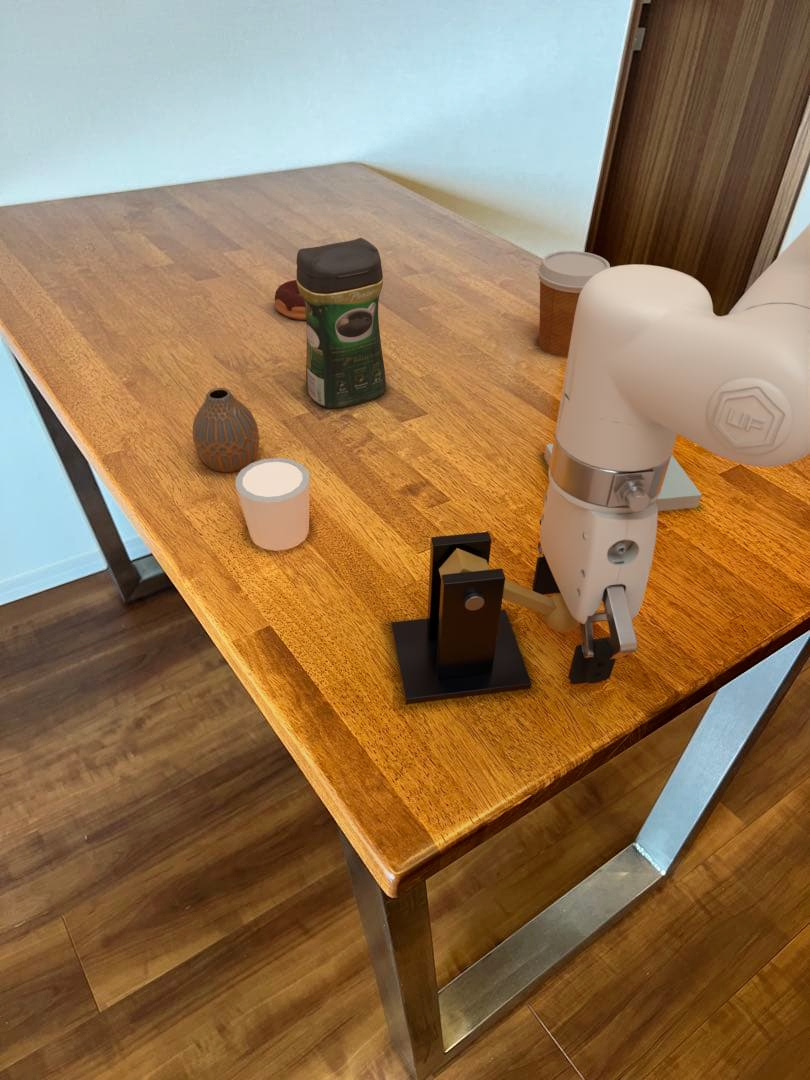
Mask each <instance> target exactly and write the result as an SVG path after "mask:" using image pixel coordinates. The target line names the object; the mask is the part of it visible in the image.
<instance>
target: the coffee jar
mask: <svg viewBox="0 0 810 1080" xmlns="http://www.w3.org/2000/svg"><path fill="white" fill-rule="evenodd" d="M295 262H296V279H295V280H296V282H297V286H298V289H299V292H300V294H301V296H302V298H303V300H304V303H305V310H306V320H305V321H306V324H305V325H306V357H305V358H306V360H305V361H306V362H305V380H306V383H305V384H306V390H307V393H308V395H309V397H310V399H312V401H313V402H314V403H315V404H317V405H318V406H320V407H322V408H325V409H328V410H340V409H346V408H351V407H356V406H359V405H362V404H366V403H369V402H372V401H374V400H377V399H379V398H381V397H382V396H383V395H384V394H385V392H386V390H387V381H386V371H385V363H384V356H383V349H382V341H381V332H380V321H379V300H380V296H381V292H382V288H383V284H384V274H383V267H382V260H381V255H380V252H379V250H378V248H377V247H376V246H375V245H373V243H371V242H370V241H368V240H367V239H365V238H363V237H358V238H356V239H355V238H354V239H352V240H347V241H341V242H334V243H330V244H325V245H320V246H314V247H305V248H300V249H298V251H297V254H296V261H295Z"/></svg>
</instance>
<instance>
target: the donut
mask: <svg viewBox="0 0 810 1080" xmlns="http://www.w3.org/2000/svg"><path fill="white" fill-rule="evenodd" d="M274 301H275V304H274V305H275V310H276V311H277V312H279V313H280V314H282V315H283V316H285V317H286V318H287V317H288V318H290V319H292V320H297V321H306V310H305V303H304V300H303V298H302V296H301V294H300V292H299V289H298V286H297V282H296V279H293V280H288V281H286V282H284V283H282V284H279V285H278V287H277V289H275V293H274Z"/></svg>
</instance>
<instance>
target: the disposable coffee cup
mask: <svg viewBox="0 0 810 1080" xmlns="http://www.w3.org/2000/svg"><path fill="white" fill-rule="evenodd" d="M608 268H611V265H610V263H609V261H608V260H607V259H605V258H604V257H602V256H600V255H597V254H595V253H591V252H587V251H580V250H559V251H554V252H551V253H548V254H547V255H545V256H544V257H543V258H542V261H541V263H540V265H539V266H538V267H537V275H538V280H539V332H538V333H539V336H538V338H539V339H538V343H539V344H538V345H539V347H540V349H541V350H542V351H544V352H545V353H547V354H549V355H552V356H557V357H567V358H568V353H569V347H570V341H571V335H572V329H573V323H574V317H575V311H576V307H577V302H578V298H579V295H580V293H581V291H582V289H583V287H584V286H585V284H586V283H587V281H588V280H589V279H590V278H592V277H593V276H594V275H595V274H597V273H599V272H601V271H603V270H605V269H608Z"/></svg>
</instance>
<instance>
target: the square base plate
mask: <svg viewBox="0 0 810 1080" xmlns="http://www.w3.org/2000/svg"><path fill="white" fill-rule="evenodd" d="M552 448H553V443H546V444H545V449H544V456H543V458H544V460H545V462H546V464H547V466H548V467H549V466H550V460H551V454H552ZM702 497H703V494H702V493H701V492H700V490H699V489H698V487H697V486H696V484H695V483H694V482H693V480H692V479H691V478H690V477H689V476H688V474H687V473H686V471H685V470H684V469H683V467H682V466H681V465H680V464H679V462H678V461H677V459H676V458H675V456H674V455H673V454H672V455H671V459H670V462H669V465H668V469H667V472H666V475H665V479H664V482H663V485H662V488H661V492H660V495H659V496H658V498H657V500H656V501H655V503H656V505H657V508H658V512H664V511H666V512H667V511H673V510H684V509H694V508H698V507H699V505H700V501H701V499H702Z"/></svg>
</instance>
